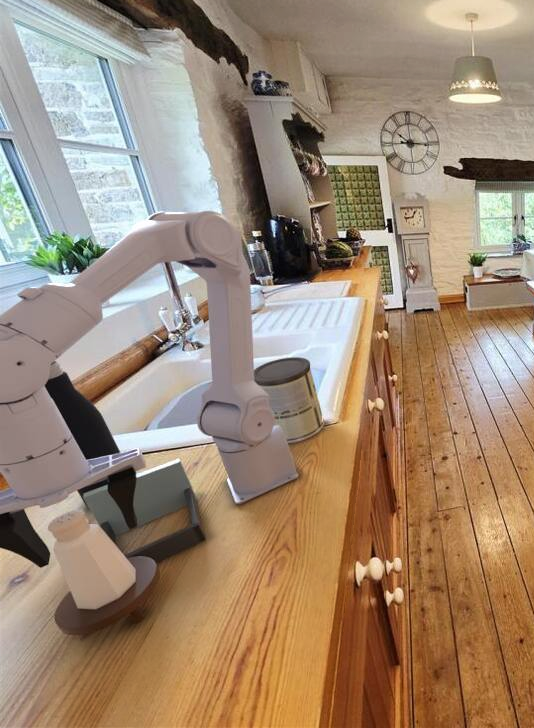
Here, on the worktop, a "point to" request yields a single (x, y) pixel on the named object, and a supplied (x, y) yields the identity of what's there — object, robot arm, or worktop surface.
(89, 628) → the stool
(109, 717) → the worktop surface
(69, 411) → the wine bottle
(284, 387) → the coffee can
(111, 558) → the salt shaker
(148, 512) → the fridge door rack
